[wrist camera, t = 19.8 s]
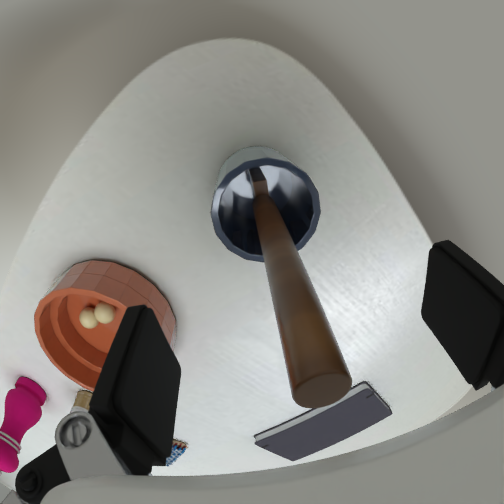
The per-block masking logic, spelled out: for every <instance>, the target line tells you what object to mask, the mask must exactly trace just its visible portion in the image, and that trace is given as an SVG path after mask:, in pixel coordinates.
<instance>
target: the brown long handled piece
mask: <svg viewBox="0 0 504 504" xmlns="http://www.w3.org/2000/svg"><path fill="white" fill-rule="evenodd" d="M249 174H250V180H251V185H252V191H253V197H254V201H253V204H252V207H253V212H254V216H255V221H256V225H257V230H258V235H259V239H260V244H261V249H262V253H263V258H264V263H265V267H266V272H267V277H268V282H269V286H270V291H271V296H272V301H273V305H274V310H275V315H276V320H277V324H278V329H279V334H280V339H281V344H282V349H283V354H284V358H285V363H286V368H287V373H288V378H289V383H290V388H291V393H292V397H293V400H294V401H295V402H296V403H297V404H298V405H300V406H302V407H305V408H321V407H325V406H329V405H331V404H334V403H336V402H337V401H339V400H341V399H342V398H343V397H344V396H345V395H346V394H347V393H348V392H349V390H350V389H351V386H352V378H351V375H350V373H349V370H348V368H347V365H346V363H345V360H344V358H343V355H342V353H341V350H340V348H339V346H338V343H337V341H336V338H335V336H334V334H333V331H332V329H331V326H330V324H329V322H328V319H327V317H326V315H325V312H324V310H323V308H322V305H321V303H320V301H319V298H318V296H317V294H316V291H315V289H314V287H313V285H312V282H311V280H310V278H309V276H308V273H307V271H306V269H305V267H304V264H303V262H302V260H301V258H300V255H299V253H298V251H297V249H296V247H295V245H294V242H293V240H292V238H291V236H290V234H289V232H288V229H287V227H286V225H285V223H284V221H283V219H282V217H281V214H280V212H279V210H278V208H277V206H276V204H275V202H274V200H273V198H272V197H270V196H269V191H268V185H267V180H266V178H265V176H264V174H263V172H262V170H261V169H260V168H256V169H251V170H249Z"/></svg>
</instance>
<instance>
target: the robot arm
mask: <svg viewBox="0 0 504 504" xmlns="http://www.w3.org/2000/svg"><path fill="white" fill-rule="evenodd" d="M421 315H422V318H423V320H424V322H425V323H426V324H427V326H428V327H429V328H430V330H431V331H432V332H433V334H434V335H435V336H436V338H437V339H438V341H439V342H440V343H441V345H442V346H443V348H444V349H445V350H446V352H447V353H448V355H449V356H450V358H451V359H452V360H453V362H454V363H455V365H456V366H457V368H458V369H459V371H460V372H461V374H462V375H463V377H464V378H465V380H466V381H467V383H468V384H472V385H473V387H474V388H475V390H478V389H480V388H482V387H484V386H485V385H487V384H488V382H490V383H491V385H492V387H491V392H490V393H488V394H487V395H485V396H483V397H482V398H480V399H478V400H476V401H474V402H472V403H471V404H469V405H467V406H465V407H463V408H461V409H459V410H457V411H455V412H454V413H451V414H449V415H447V416H445V417H443V418H441V419H439V420H437V421H434V422H432V423H430V424H427V425H425V426H423V427H420V428H418V429H416V430H413V431H411V432H408V433H406V434H403V435H400V436H398V437H395V438H392V439H390V440H387V441H384V442H381V443H378V444H375V445H372V446H369V447H366V448H362V449H359V450H356V451H352V452H349V453H345V454H342V455H338V456H334V457H330V458H326V459H322V460H317V461H313V462H308V463H303V464H298V465H293V466H287V467H281V468H275V469H269V470H261V471H253V472H245V473H234V474H221V475H202V476H153V475H152V474H151V471H152V466H166V459H167V458H169V457H170V456H171V453H172V443H173V434H174V425H175V417H176V409H177V401H178V393H179V385H180V378H181V368H180V364H179V362H178V360H177V358H176V356H175V354H174V352H173V351H172V349H171V347H170V345H169V343H168V340H167V338H166V336H165V334H164V332H163V330H162V328H161V326H160V324H159V322H158V320H157V317H156V315H155V313H154V311H153V309H152V308H147V306H146V305H144V304H142V305H136V306H130V307H128V308H127V309H126V311H125V314H124V316H123V318H122V321H121V323H120V325H119V328H118V330H117V332H116V335H115V337H114V340H113V342H112V344H111V347H110V349H109V352H108V354H107V357H106V359H105V362H104V365H103V367H102V370H101V372H100V375H99V378H98V380H97V383H96V386H95V389H94V391H93V394H92V397H91V400H90V403H89V406H90V408H89V411H88V413H87V412H85V411H76V412H72V413H70V414H68V415H67V416H65V417H64V418H63V419H62V420H61V421H60V423H59V424H58V426H57V428H56V431H55V441H56V445H54V446H53V447H51V448H50V449H49V450H47V451H46V452H44V453H43V454H41V455H40V456H38V457H37V458H35V459H34V460H32V461H31V462H29V463H28V464H26V465H25V466H24V467H23V468H21V469H20V471H19V472H18V474H17V477H16V481H15V487H16V492H15V491H14V490H11V492H10V493H9V494H8V495H7V497H6V498H5V499H4V500H3V501H2V503H1V504H504V285H503V284H502V283H501V282H500V281H499V280H497V279H496V278H495V277H494V276H493V275H492V274H491V273H489V272H488V271H487V270H486V269H485V268H483V267H482V266H481V265H480V264H479V263H477V262H476V261H475V260H474V259H473V258H471V257H470V256H469V255H468V254H466V253H465V252H464V251H463V250H461V249H460V248H459V247H458V246H456V245H455V244H453V243H452V242H451V241H449V240H445V241H441V242H438V243H435V244H433V246H432V248H431V249H430V251H429V257H428V267H427V275H426V283H425V290H424V297H423V303H422V309H421Z"/></svg>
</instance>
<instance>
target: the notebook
mask: <svg viewBox="0 0 504 504" xmlns="http://www.w3.org/2000/svg"><path fill="white" fill-rule="evenodd" d="M391 414H392V411H391V409H390V407H389V406H388V405H387V404H386V403H385V402H384V401H383V399H382V398H381V397H380V396H379V395H378V394H377V393H376V392H375V391H374V389H373V388H372V387H371V386H370V385H369V384H368V383H367V382H362V383H360V384H358V385H356V386H355V387H353V388H351V389H350V390H349V392H348V393H347V394H346V395H345V396H344V397H343V398H342V399H341V400H339V401H337V402H336V403H334V404H331V405H329V406H325V407H321V408H314V409H312V410H310V411H308V412H306V413H304V414H302V415H300V416H298V417H296V418H294V419H291V420H289V421H287V422H285V423H283V424H280V425H278V426H276V427H274V428H271V429H269V430H267V431H264V432H262V433H259V434H257V435H255V436H254V438H255V439H256V442H255V445H257V446H259V447H261V448H264V449H266V450H268V451H270V452H272V453H275V454H277V455H279V456H282V457H284V458H286V459H289V460H291V461H295V460H298V459H300V458H303V457H306V456H308V455H310V454H313V453H315V452H318V451H320V450H322V449H325V448H327V447H329V446H331V445H334V444H336V443H338V442H340V441H342V440H344V439H346V438H348V437H350V436H352V435H354V434H356V433H358V432H360V431H362V430H364V429H366V428H368V427H370V426H372V425H374V424H375V423H377V422H379V421H381V420H383V419H384V418H386V417H388V416H390V415H391Z"/></svg>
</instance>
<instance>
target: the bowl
mask: <svg viewBox="0 0 504 504" xmlns="http://www.w3.org/2000/svg"><path fill="white" fill-rule="evenodd" d="M103 301H104V302H106V303H109V304H111V305H113V307H114V309H115V317H114V319H113V320H112V321H111V322H110V323H107V324H104V323H101V322H99V323H98V325H97V326H96V327H94V328H92V329H88V328H85V327H84V326H83V325H82V324H81V322H80V319H79V315H80V312H81V311H82V310H83V309H84V308H87V307H90V308H93V309H95V307H96V305H97V304H98V303H100V302H103ZM142 304H144V305H146V306H147V308H152V309H153V311H154V313H155V315H156V317H157V320H158V322H159V324H160V326H161V328H162V330H163V332H164V334H165V336H166V338H167V340H168V343H169V345H170V347H171V349H172V351H174V346H175V341H176V321H175V318H174V315H173V313H172V311H171V308H170V306H169V303H168V302H167V300H166V299H165V298H164V297H163V296H162V294H161V293H160V292H159V291H158V289H157V288H156V287H155V286H154V285H153V284H152V283H150V282H149V281H148V280H146V279H145V278H144V277H142V276H141V275H140V274H138V273H137V272H136V271H134V270H131V269H128V268H126V267H124V266H121V265H119V264H116V263H113V262H105V261H95V260H91V261H87V262H83V263H79V264H75V265H73V266H72V267H71V268H69V269H68V270H67V271H66V272H64V273H63V274H62V275H61V276H60V277H59V279H58V280H57V281H56V282H55V283H54V284H53V286H52V287H51V288H50V289H49V290H48V292H47V293H46V294H45V295H44V297H43V298H42V299H41V300H40V302H39V304H38V307H37V309H36V312H35V314H34V321H35V332H36V335H37V338H38V340H39V343H40V346H41V347H42V349H43V351H44V352H45V354H46V355H47V356H48V358H49V359H50V361H51V362H52V363H53V364H54V365H55V366H56V367H57V368H58V369H59V370H60V371H61V372H62V373H63V374H64V375H65V376H67V377H68V378H69V379H71V380H72V381H74V382H76V383H77V384H79V385H80V386H82V387H84V388H86V389H88V390H91V391H94V389H95V386H96V383H97V380H98V378H99V375H100V372H101V370H102V367H103V365H104V362H105V359H106V357H107V354H108V352H109V349H110V347H111V344H112V342H113V340H114V337H115V335H116V332H117V330H118V328H119V325H120V323H121V321H122V318H123V316H124V314H125V311H126V309H127V308H128V307H130V306H136V305H142Z"/></svg>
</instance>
